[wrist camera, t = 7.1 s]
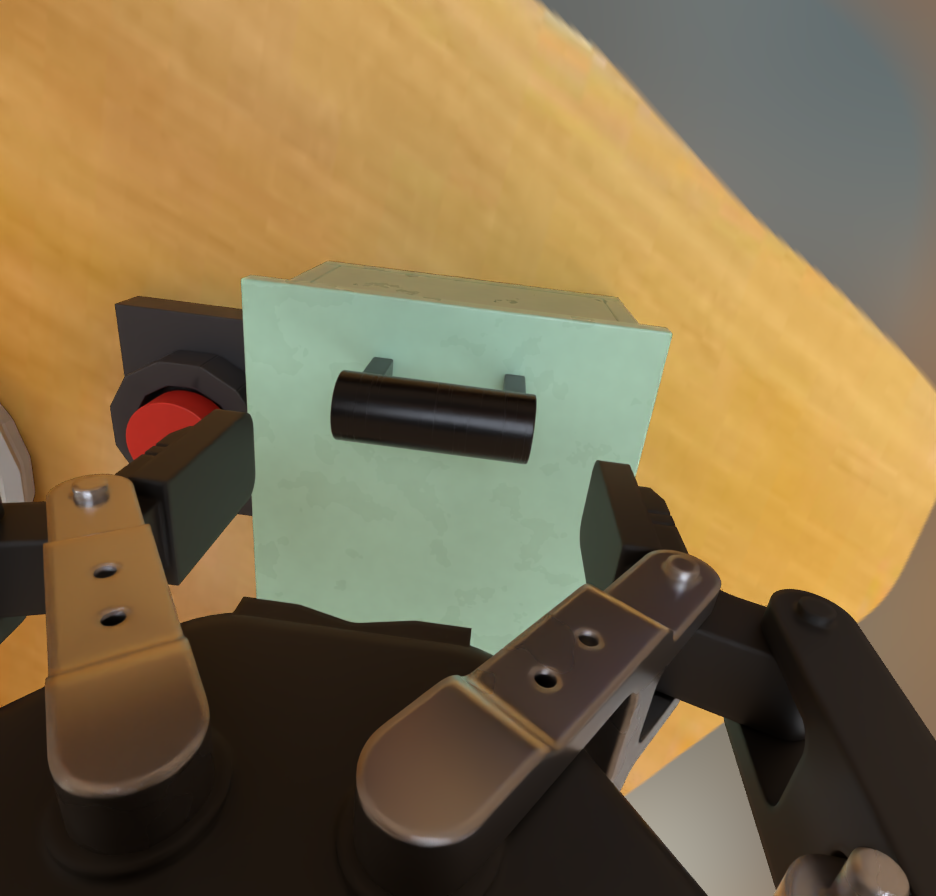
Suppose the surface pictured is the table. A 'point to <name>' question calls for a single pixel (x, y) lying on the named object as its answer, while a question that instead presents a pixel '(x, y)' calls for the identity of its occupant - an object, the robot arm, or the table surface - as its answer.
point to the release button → (165, 418)
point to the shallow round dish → (14, 463)
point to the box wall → (468, 290)
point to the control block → (178, 358)
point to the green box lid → (432, 450)
